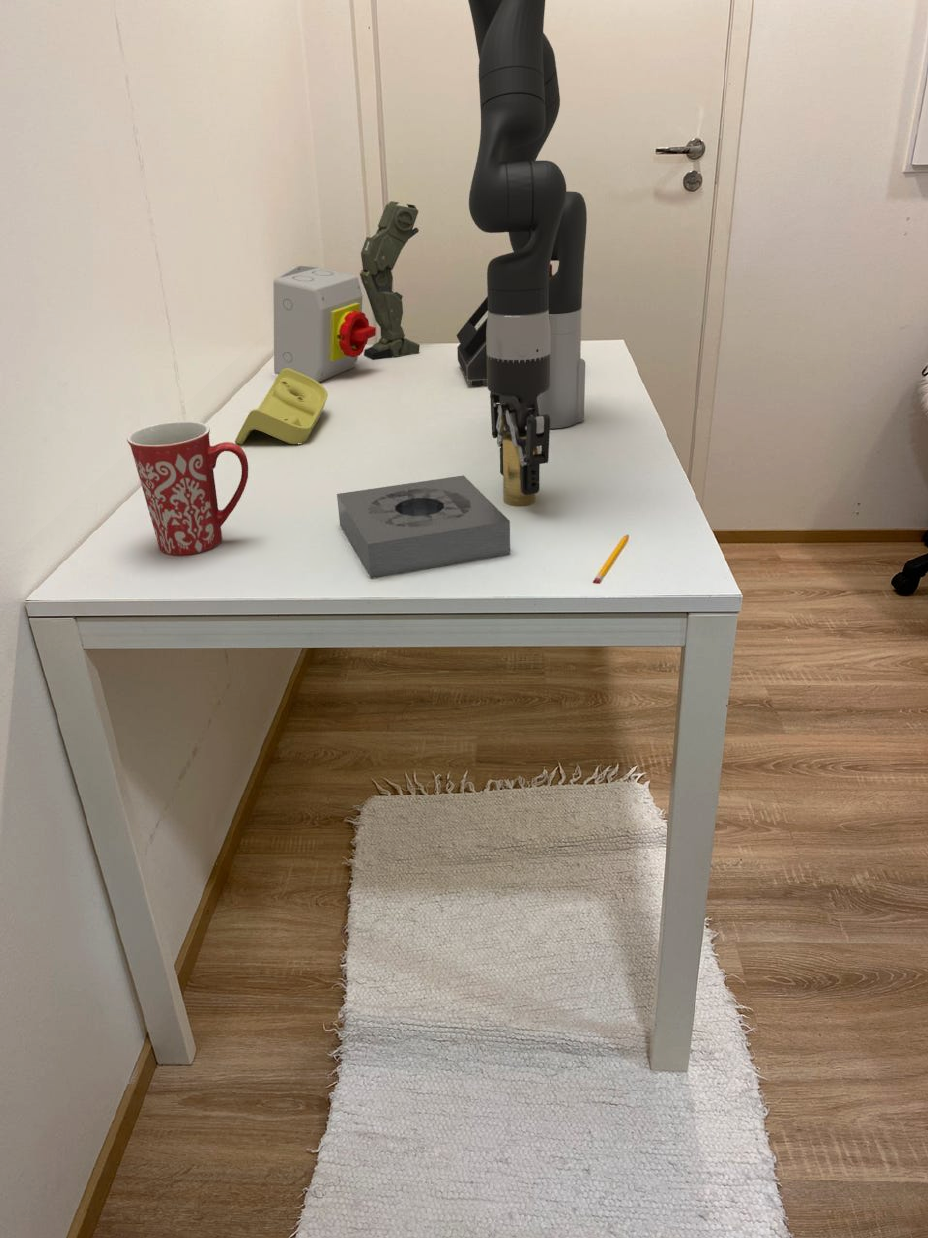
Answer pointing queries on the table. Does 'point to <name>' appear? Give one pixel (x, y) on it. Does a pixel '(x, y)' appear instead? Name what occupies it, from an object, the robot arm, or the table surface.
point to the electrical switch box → (318, 322)
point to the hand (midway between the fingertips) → (519, 483)
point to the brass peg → (513, 475)
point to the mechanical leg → (387, 279)
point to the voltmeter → (475, 345)
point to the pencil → (611, 560)
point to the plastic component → (287, 409)
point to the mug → (183, 484)
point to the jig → (422, 525)
